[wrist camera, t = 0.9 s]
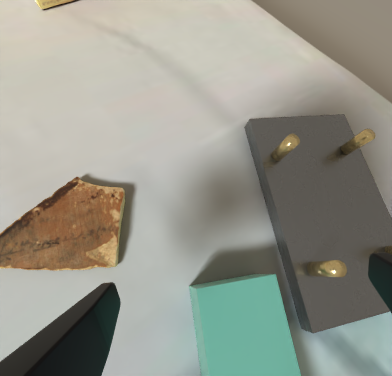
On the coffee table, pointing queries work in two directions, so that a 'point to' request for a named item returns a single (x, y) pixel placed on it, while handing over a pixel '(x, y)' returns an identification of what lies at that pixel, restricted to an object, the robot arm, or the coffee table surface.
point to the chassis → (322, 214)
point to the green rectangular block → (243, 328)
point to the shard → (67, 230)
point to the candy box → (50, 3)
